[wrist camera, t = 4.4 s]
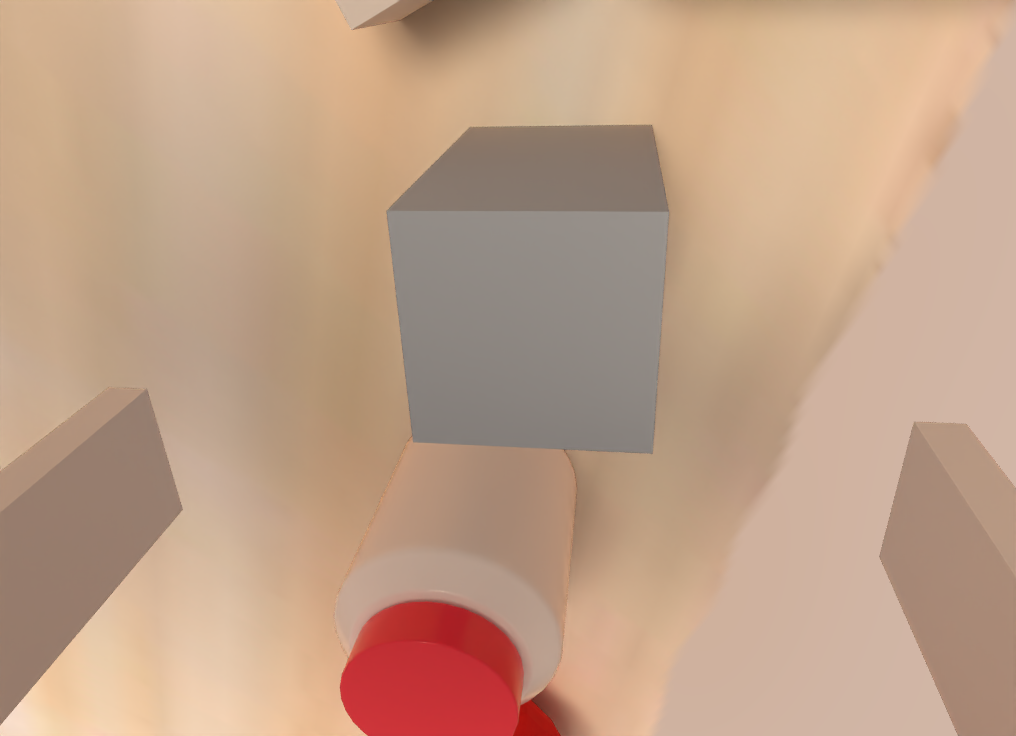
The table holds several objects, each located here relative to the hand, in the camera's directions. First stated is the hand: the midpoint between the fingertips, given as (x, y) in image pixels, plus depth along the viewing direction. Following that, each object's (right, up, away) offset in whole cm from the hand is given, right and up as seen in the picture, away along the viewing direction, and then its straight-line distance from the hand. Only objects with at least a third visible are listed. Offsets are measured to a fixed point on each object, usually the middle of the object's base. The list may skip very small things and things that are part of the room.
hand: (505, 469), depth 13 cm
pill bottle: (-1, -3, +19) cm, 19 cm away
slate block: (+2, +7, +13) cm, 15 cm away
